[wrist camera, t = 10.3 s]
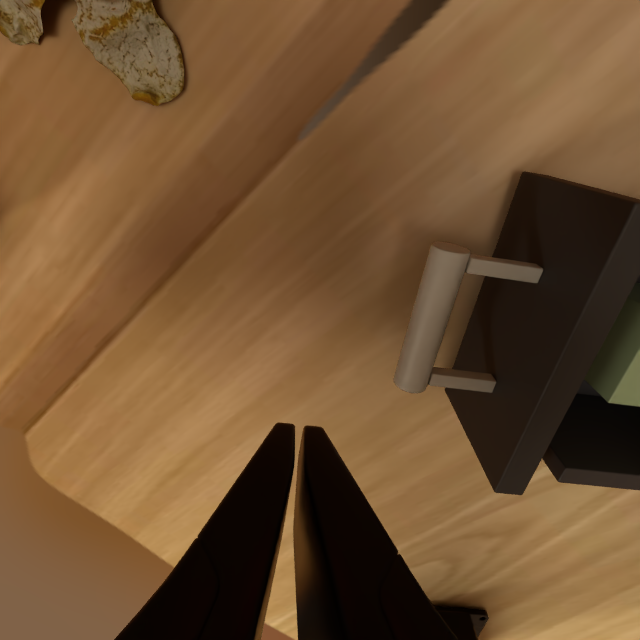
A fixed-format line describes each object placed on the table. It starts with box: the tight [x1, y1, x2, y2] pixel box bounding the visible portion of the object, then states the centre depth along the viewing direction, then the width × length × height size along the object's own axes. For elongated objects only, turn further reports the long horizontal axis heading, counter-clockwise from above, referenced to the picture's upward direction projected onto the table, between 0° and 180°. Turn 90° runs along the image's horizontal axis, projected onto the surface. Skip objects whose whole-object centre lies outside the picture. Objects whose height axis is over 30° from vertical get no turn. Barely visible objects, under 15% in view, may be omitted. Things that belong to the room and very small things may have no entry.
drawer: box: [393, 172, 640, 495], centre depth 17 cm, size 18×11×7 cm, turn 81°
